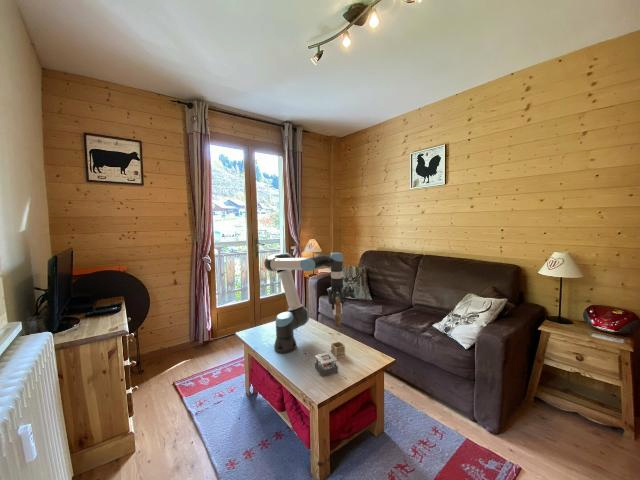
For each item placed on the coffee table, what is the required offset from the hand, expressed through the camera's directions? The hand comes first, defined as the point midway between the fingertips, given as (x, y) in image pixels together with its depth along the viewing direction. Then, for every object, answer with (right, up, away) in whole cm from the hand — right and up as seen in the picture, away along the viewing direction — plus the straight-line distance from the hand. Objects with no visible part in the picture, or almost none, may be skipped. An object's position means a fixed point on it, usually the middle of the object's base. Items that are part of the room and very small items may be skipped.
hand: (337, 313), depth 171 cm
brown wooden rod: (0, -8, +1) cm, 8 cm away
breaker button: (-8, -27, -14) cm, 31 cm away
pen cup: (+1, -27, +3) cm, 27 cm away
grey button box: (-7, -29, -13) cm, 33 cm away
